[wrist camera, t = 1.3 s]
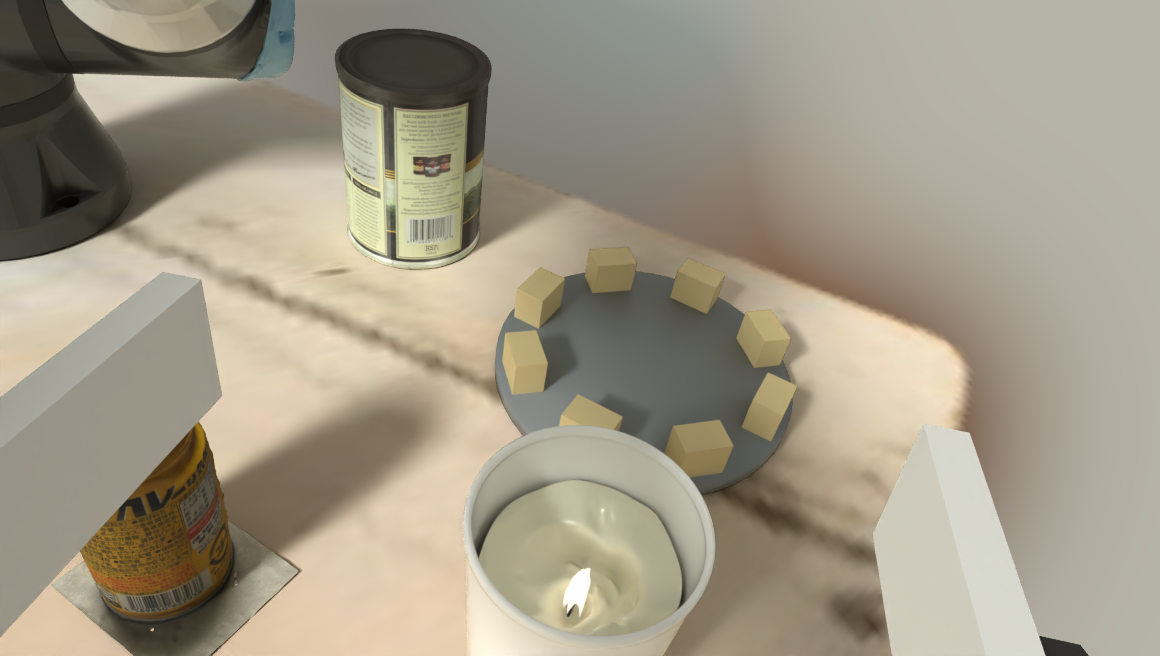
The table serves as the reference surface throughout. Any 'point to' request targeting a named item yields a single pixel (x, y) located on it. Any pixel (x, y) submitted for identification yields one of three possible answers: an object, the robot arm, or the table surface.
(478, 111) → the coffee can
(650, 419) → the ring seat
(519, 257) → the table surface
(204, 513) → the condiment
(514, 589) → the candle holder
